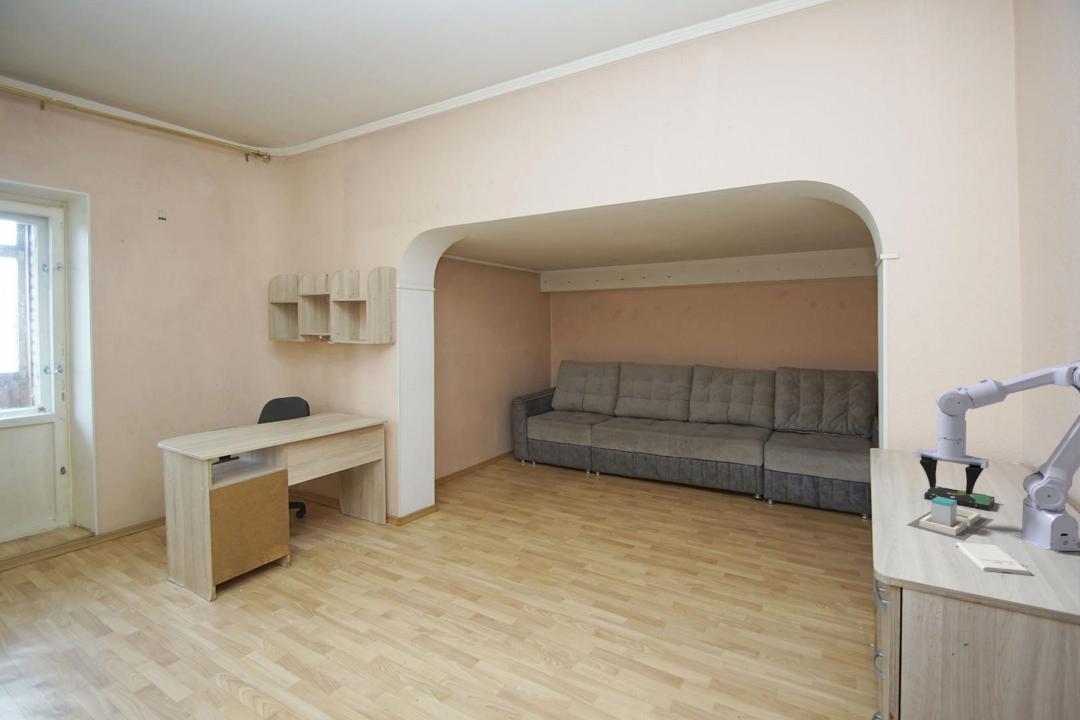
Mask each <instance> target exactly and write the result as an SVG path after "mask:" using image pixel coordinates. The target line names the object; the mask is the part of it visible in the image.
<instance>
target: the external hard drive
mask: <svg viewBox="0 0 1080 720" xmlns="http://www.w3.org/2000/svg"><path fill="white" fill-rule="evenodd" d="M955 546H956V548H957V549H958V550H960V552H962V553H963V554H964V555H965V556H966V557H967V558H968V559H969V560H970V561H972V562H973V564H975V565H976V566H977V567H978V568H979V569H980V570H982V572H991V573H992V572H993V573H1005V574H1006V573H1008V574H1011V575H1012V574H1014V575H1024V576H1031V571H1030V570H1029V569H1027V568H1026V567H1025V566H1023V565H1022V563H1020V562H1019V561H1017V560H1016V559H1015V558H1013V556H1011V555H1010V554H1008V553H1007V552H1006V551H1005V550H1003V549H1002V548H1001V547H1000V546H998V545H996V544H987V543H986V544H985V543H984V544H983V543H973V542H961V541H960V542H956V543H955Z"/></svg>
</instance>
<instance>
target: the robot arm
mask: <svg viewBox="0 0 1080 720" xmlns="http://www.w3.org/2000/svg"><path fill="white" fill-rule="evenodd" d="M1048 385H1055V386H1062V387H1063V386H1064V387H1069V388H1070V387H1073V388H1074V389H1076V390H1077V392H1079V394H1080V359H1078V360H1075V361H1072V362H1070V363H1069V362H1065V363H1059V364H1056V365H1051V366H1047V367H1045V368H1041V369H1038V370H1035V371H1032V372H1029V373H1025V374H1023V375H1020V376H1015V377H1013V378H1010V379H1007V380H1004V381H998V380H996V379H986V378H982V379H978V382H977V383H974V384H970V385H968V386H963V387H962V386H956V387H955V390H945V391H943V392H941V393H940V394H939V395H938V396H937V399H936V405H937V406H938V408H939V409H938V412H937V414H938V415H937V416H938V418H937V432H936V433H937V435H936V437H937V439H936V440H937V442H936V446H937V450H930V449H929V450H928V449H920V448H919V449H917V450H916V458H919V459H920V460H919V464H920V466H921V467H922V469H923V471H924V472H925V475H926V478H927V480H928V484H929V488H930V487H934V486H937V485H936V484H937V466H938V461H941V462H947V463H954V464H959V465H965V466H966V467H964V470H965V478H966V485H965V491H966V494H968V495H970V494H972V493H974V491H973V490H974V487H975V486H976V485H975V484H976V483H977V480H978V478H979V477H980V475H981V474H982V472H983V471H984V469H988V468H989V465H990V460H989V459H987V458H981V457H976V456H974V455H973V456H972V455H967V454H966V453H967V421H966V412H967V411H968V410H970V409H971V410H975V409H978V408H982V407H987V406H991V405H993V404H997V403H1002V402H1004V401H1005V399H1006V397H1007V396H1008V395H1010V394H1016V393H1019V392H1023V391H1027V390H1031V389H1036V388H1040V387H1044V386H1048ZM1079 468H1080V414H1079V415H1078V416H1077V418H1076V419H1075V420H1074V422H1073V423H1072V425H1071V426H1070V428H1068V430H1067V432H1066V433H1065V435H1064V436H1063V437H1062V439H1061V440H1060V442H1059V443H1058V445H1057V446H1056V448H1055V449H1054V450H1053V451H1052V453H1051V455H1049V457H1048V459H1047V460H1046V462H1044V463H1042V464H1040V465H1039V466H1038V467H1037V468H1036V470H1035V471H1033V472H1031V473H1030V474H1027V475H1026V476H1025V477H1024V478H1023V481H1022V487H1023V490H1024V492H1026V493H1027V494H1026V497H1024V498H1023V499H1022V519H1021V520H1022V521H1021V523H1022V524H1021V531H1019V532H1017V531H1013V532H1011V534H1012V535H1014V536H1016V537H1018V538H1021V539H1023V540H1024V541H1027V542H1029V543H1030V544H1032V545H1035V546H1036V547H1038V548H1040V549H1042V550H1046V551H1048V550H1049V551H1054V550H1055V552H1059V551H1060V552H1070V551H1071V552H1073V551H1075V552H1080V547H1079V522H1078V520H1077V519H1076V518H1075V517H1074V516H1072V515H1071V514H1069V513H1068V512H1067V511H1068V510H1067V509H1066V504H1067V502H1068V499H1069V494H1068V493H1069V492H1070V491H1069V490H1070V489H1071V487H1072V485H1073V479H1074V475H1075V474H1076V472H1077V471H1078V470H1079Z"/></svg>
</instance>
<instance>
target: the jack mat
mask: <svg viewBox="0 0 1080 720" xmlns="http://www.w3.org/2000/svg"><path fill="white" fill-rule="evenodd" d="M929 514H931V510H930V511H928V512H927V513H925V514H923V515H922V516H920V517H918V518H917V519H914V520H913V521H910V522H909V523H907V524H906V526H907V527H912V528H916V529H919V530H923V531H925V532H931V533H932V534H933V533H935V534H938V535H941V536H944V537H945V536H946V537H949V538H953V539H957V540H959V541H965V540H967V539H968V538H970V537H972V535H974V534H975V533H977V532H978V531H979V530H980V529H982V528H984V527H986V526H987V524H989V523H991V522H992V521H994V519H992V518H990V517H983V516H980V519H979V520H978V521H976V522H975V523H973V524H972V525H970V526H968V525H967V528H966V529H964V530H963V531H961V532H960V533H958V534H957V535H952V534H948V533H944V532H940V531H937V530H933V529H929V528H925V527H922V526H919V520H921V519H923V518H924V517H926V516H928V515H929ZM956 516H959V517H963V518H969V517H967V516H962V515H958V514H956Z"/></svg>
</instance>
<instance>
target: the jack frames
mask: <svg viewBox="0 0 1080 720" xmlns="http://www.w3.org/2000/svg"><path fill="white" fill-rule="evenodd" d="M956 514H958V515H962V516H967V517H969V518H963V517H959V516H956V526H955V527H953V528H952V527H948V526H944V525H940V524H936V523H932V522H931V514H929V515H928V516H926V517H924V518H923V519H921V520H919V526H922V527H925V528H929V529H933V530H937V531H940V532H944V533H948V534H952V535H957V534H958V533H960V532H961V531H963V530H964V529H966V528H967V525H968V526H970V525H972V524H973V523H975V522H976V521H978V520H979V519H980V517H981V512H976V511H973V510H969V509H963V508H960V507H957V511H956Z"/></svg>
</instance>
